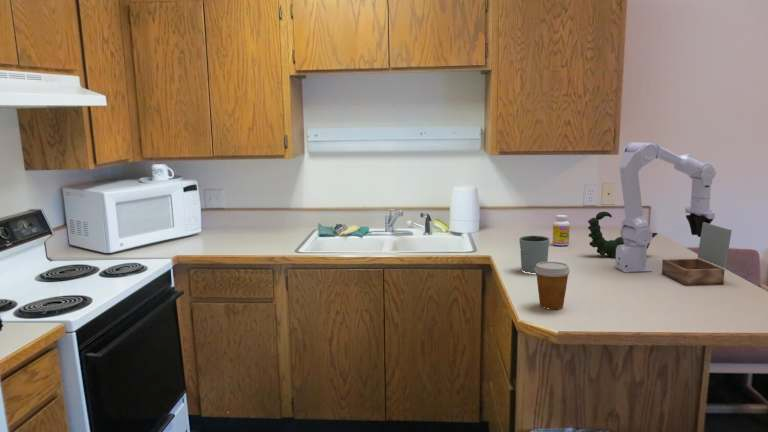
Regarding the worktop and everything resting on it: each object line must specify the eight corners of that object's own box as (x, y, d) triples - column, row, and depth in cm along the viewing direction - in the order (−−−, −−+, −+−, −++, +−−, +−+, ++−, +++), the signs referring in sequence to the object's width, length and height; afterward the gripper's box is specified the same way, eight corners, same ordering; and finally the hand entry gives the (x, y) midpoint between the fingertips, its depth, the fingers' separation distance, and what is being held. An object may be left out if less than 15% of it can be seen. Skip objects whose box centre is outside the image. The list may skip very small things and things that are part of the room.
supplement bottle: (558, 247, 225) (559, 217, 223) (549, 244, 232) (550, 215, 230) (572, 246, 227) (573, 216, 225) (563, 243, 233) (563, 214, 231)
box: (685, 285, 167) (685, 270, 166) (661, 273, 181) (662, 259, 180) (723, 284, 167) (724, 269, 166) (697, 272, 181) (698, 258, 180)
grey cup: (548, 268, 192) (549, 235, 191) (549, 276, 183) (549, 241, 181) (519, 267, 195) (519, 235, 193) (518, 274, 186) (519, 240, 184)
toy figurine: (595, 264, 203) (663, 257, 201) (591, 215, 200) (661, 207, 198) (587, 258, 213) (653, 251, 210) (584, 211, 210) (651, 204, 207)
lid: (729, 229, 164) (732, 230, 164) (702, 222, 178) (704, 222, 178) (723, 267, 166) (726, 268, 166) (697, 257, 180) (699, 257, 180)
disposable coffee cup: (562, 300, 157) (562, 260, 155) (574, 311, 147) (575, 268, 145) (529, 301, 156) (530, 261, 154) (540, 312, 147) (540, 270, 145)
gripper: (724, 200, 181) (722, 239, 183) (699, 195, 195) (697, 231, 197) (703, 200, 181) (701, 240, 183) (680, 195, 195) (678, 232, 197)
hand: (698, 235), depth 190 cm, fingers open, 3 cm apart
